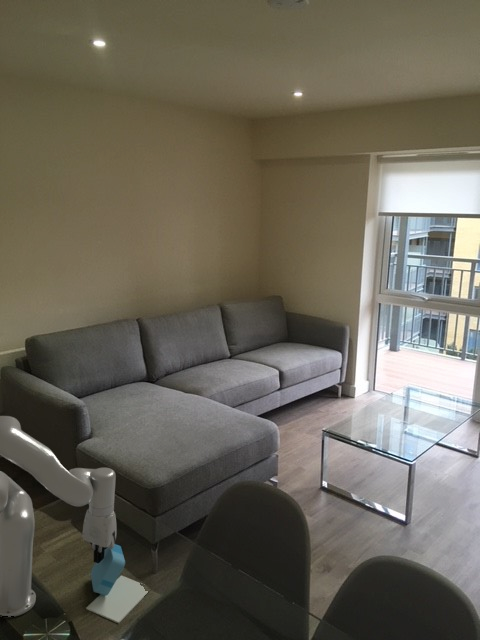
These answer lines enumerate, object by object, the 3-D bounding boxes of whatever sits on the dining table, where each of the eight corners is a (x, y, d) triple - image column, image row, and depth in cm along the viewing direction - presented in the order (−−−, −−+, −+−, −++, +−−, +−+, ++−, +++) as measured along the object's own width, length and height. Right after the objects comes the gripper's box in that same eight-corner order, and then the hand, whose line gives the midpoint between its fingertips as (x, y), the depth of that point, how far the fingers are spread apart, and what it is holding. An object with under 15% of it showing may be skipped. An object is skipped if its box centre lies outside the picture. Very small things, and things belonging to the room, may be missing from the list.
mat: (86, 609, 164) (86, 607, 163) (121, 576, 180) (121, 575, 180) (118, 623, 159) (118, 622, 159) (151, 589, 175) (151, 587, 175)
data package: (106, 598, 168) (126, 563, 169) (93, 593, 166) (113, 559, 167) (101, 576, 179) (120, 544, 180) (89, 572, 177) (108, 539, 178)
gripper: (74, 506, 168) (71, 559, 171) (114, 520, 162) (111, 574, 165) (89, 496, 175) (87, 547, 178) (128, 509, 169) (125, 561, 172)
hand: (98, 560), depth 172 cm, fingers closed
